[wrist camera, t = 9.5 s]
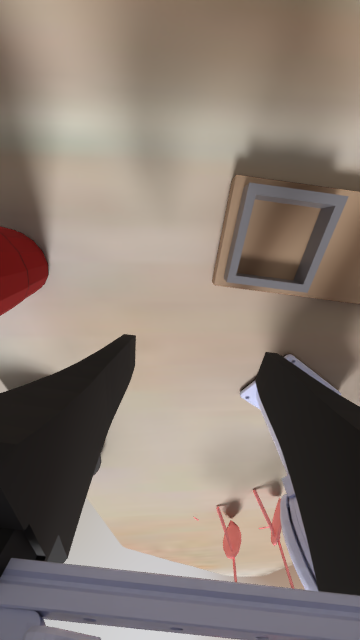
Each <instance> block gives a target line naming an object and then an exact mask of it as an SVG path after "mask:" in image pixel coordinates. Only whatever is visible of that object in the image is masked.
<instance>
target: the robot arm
mask: <svg viewBox="0 0 360 640" xmlns="http://www.w3.org/2000/svg"><path fill="white" fill-rule="evenodd" d="M135 343H136V336H135V335H127V334H124V335H122V336H121V337H119V338H118V339H116V340H115V341H113V342H112V343H110V344H108V345H107V346H105V347H104V348H102V349H101V350H99V351H97V352H96V353H94V354H92V355H90V356H89V357H87V358H85V359H83V360H82V361H80V362H78V363H76V364H74V365H72V366H70V367H68V368H66V369H63V370H61V371H59V372H57V373H54V374H52V375H50V376H47V377H44V378H42V379H39V380H37V381H34V382H32V383H29V384H27V385H24V386H21V387H18V388H15V389H12V390H9V391H6V392H3V393H0V640H101V639H100V637H95V636H91V635H86V634H82V633H77V632H73V631H68V630H63V629H59V628H54V627H48V626H46V625H45V622H44V620H43V619H50V620H60V621H69V622H78V623H88V624H97V625H107V626H117V627H126V628H136V629H145V630H155V631H165V632H174V633H183V634H193V635H202V636H212V637H222V638H231V639H241V640H360V407H359V406H357V405H356V404H354V403H352V402H350V401H349V400H347V399H345V398H344V397H342V396H341V393H340V392H339V391H338V390H337V389H335V388H334V387H333V386H332V385H330V384H329V383H328V382H326V381H325V380H324V379H323V378H321V377H320V376H319V375H318V374H316V373H315V372H314V371H312V370H311V369H310V368H309V367H307V366H306V365H305V364H303V363H302V362H301V361H300V360H298V359H297V358H296V357H294V356H293V355H292V354H288V355H286V356H285V357H282V356H281V355H279V354H277V353H269V352H266V353H265V356H264V358H263V361H262V364H261V366H260V369H259V371H258V374H257V377H256V379H255V381H253V382H252V383H251V384H250V385H248V386H247V387H246V388H245V389H243V390H242V391H241V392H240V396H241V397H242V398H243V399H245V400H246V401H248V402H249V403H251V404H252V405H254V406H255V407H257V408H259V409H260V410H261V412H262V415H263V417H264V419H265V422H266V424H267V427H268V429H269V432H270V434H271V436H272V439H273V441H274V444H275V446H276V449H277V451H278V453H279V456H280V458H281V461H282V463H283V465H284V468H285V470H286V473H287V476H285V477H283V478H282V482H283V485H284V487H285V490H286V493H287V494H285V495H283V496H282V498H281V501H280V520H281V527H282V531H283V535H284V539H285V542H286V546H287V549H288V551H289V554H290V557H291V559H292V562H293V564H294V567H295V569H296V571H297V574H298V576H299V578H300V580H301V582H302V584H303V586H304V588H305V590H301V589H292V588H283V587H274V586H265V585H256V584H247V583H237V582H228V581H219V580H210V579H201V578H191V577H182V576H173V575H164V574H155V573H146V572H136V571H127V570H118V569H109V568H99V567H90V566H81V565H72V564H63V563H64V562H65V561H66V559H67V558H68V555H69V551H70V548H71V544H72V541H73V537H74V535H75V531H76V528H77V525H78V521H79V518H80V515H81V511H82V508H83V505H84V502H85V499H86V496H87V493H88V489H89V486H90V483H91V480H92V477H93V474H94V471H95V468H96V465H97V462H98V459H99V456H100V453H101V450H102V447H103V444H104V441H105V438H106V436H107V433H108V430H109V427H110V425H111V423H112V420H113V418H114V416H115V414H116V411H117V409H118V407H119V405H120V403H121V400H122V398H123V396H124V394H125V392H126V390H127V387H128V385H129V383H130V380H131V377H132V374H133V371H134V367H135ZM292 360H294V361H292ZM291 361H292V362H291Z"/></svg>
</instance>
